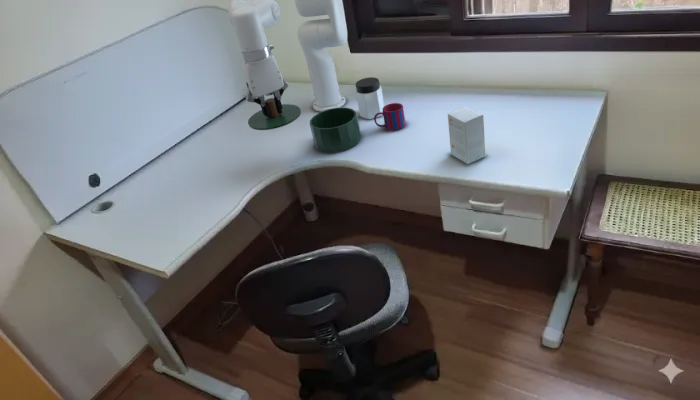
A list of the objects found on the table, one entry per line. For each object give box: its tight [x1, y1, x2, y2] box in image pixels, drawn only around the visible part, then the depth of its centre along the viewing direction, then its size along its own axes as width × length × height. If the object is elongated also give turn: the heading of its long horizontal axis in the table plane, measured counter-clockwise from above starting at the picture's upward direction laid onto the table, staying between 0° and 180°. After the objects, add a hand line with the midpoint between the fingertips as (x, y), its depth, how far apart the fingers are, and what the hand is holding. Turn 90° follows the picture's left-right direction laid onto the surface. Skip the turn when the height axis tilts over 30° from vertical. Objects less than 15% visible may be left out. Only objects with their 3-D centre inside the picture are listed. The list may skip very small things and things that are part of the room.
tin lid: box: [247, 97, 302, 131], centre depth 152 cm, size 16×16×6 cm
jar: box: [355, 76, 385, 120], centre depth 180 cm, size 9×8×12 cm
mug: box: [373, 102, 406, 132], centre depth 170 cm, size 7×10×7 cm
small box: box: [447, 106, 486, 165], centre depth 144 cm, size 8×6×13 cm
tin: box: [309, 107, 362, 154], centre depth 168 cm, size 15×15×8 cm
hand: (273, 113), depth 153 cm, fingers closed on tin lid, 3 cm apart
